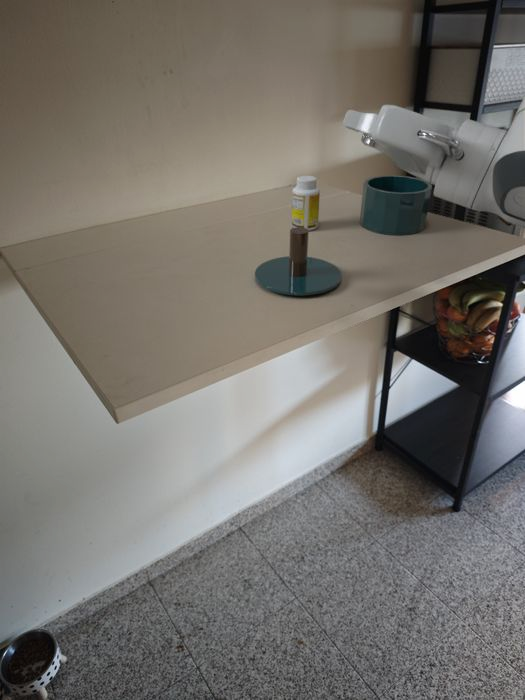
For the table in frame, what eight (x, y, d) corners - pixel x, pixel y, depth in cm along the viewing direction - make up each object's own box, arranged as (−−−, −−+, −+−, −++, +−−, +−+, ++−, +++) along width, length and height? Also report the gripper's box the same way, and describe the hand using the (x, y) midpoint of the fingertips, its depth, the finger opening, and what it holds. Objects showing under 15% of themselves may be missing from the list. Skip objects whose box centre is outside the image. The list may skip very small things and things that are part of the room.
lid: (347, 267, 89) (352, 220, 84) (331, 304, 77) (335, 252, 72) (269, 257, 93) (269, 212, 88) (242, 291, 81) (241, 241, 76)
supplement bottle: (318, 223, 108) (320, 174, 102) (317, 232, 103) (320, 182, 98) (292, 222, 109) (293, 174, 103) (290, 231, 104) (292, 181, 98)
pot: (426, 217, 111) (433, 178, 106) (422, 238, 100) (430, 196, 96) (364, 211, 115) (369, 173, 110) (355, 231, 104) (359, 190, 99)
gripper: (446, 177, 49) (322, 135, 53) (455, 198, 68) (362, 166, 72) (476, 111, 47) (345, 72, 51) (477, 152, 66) (380, 121, 70)
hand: (355, 127), depth 62 cm, fingers open, 8 cm apart
